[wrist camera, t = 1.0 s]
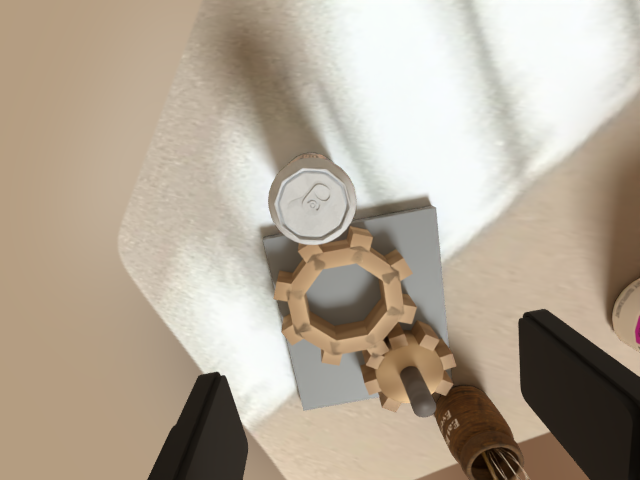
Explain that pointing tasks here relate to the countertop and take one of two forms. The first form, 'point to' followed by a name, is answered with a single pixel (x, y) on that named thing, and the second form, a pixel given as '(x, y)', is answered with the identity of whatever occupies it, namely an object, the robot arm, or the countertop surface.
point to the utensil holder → (478, 435)
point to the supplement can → (628, 315)
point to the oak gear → (351, 334)
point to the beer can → (312, 200)
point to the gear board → (362, 299)
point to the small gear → (409, 369)
